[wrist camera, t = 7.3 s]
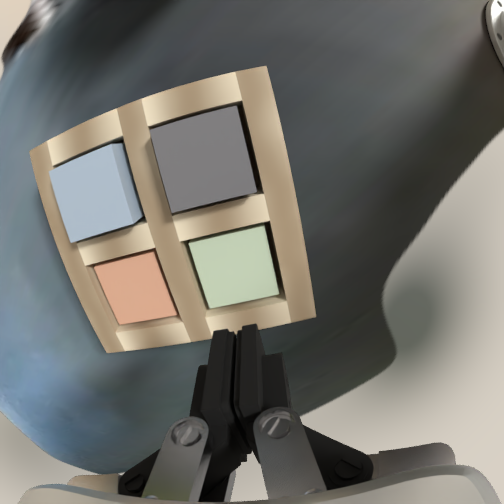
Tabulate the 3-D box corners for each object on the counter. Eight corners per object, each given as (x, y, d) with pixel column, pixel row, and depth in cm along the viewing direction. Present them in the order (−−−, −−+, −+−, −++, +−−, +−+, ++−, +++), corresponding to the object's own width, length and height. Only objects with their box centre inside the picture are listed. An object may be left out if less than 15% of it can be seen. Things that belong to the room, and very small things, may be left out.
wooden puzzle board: (261, 80, 19) (266, 65, 15) (304, 287, 25) (316, 316, 21) (61, 147, 20) (29, 151, 16) (123, 323, 26) (107, 353, 22)
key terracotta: (164, 238, 22) (153, 252, 20) (183, 295, 24) (177, 314, 21) (109, 252, 23) (93, 267, 20) (130, 305, 24) (119, 324, 22)
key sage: (261, 214, 22) (264, 225, 19) (274, 275, 24) (279, 294, 21) (195, 230, 22) (188, 243, 19) (213, 289, 24) (209, 308, 21)
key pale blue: (128, 142, 18) (110, 144, 15) (148, 212, 20) (133, 223, 17) (70, 166, 18) (48, 171, 16) (90, 229, 20) (70, 243, 17)
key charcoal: (237, 111, 18) (236, 105, 15) (254, 184, 20) (257, 192, 17) (162, 131, 18) (149, 130, 15) (181, 202, 20) (171, 213, 17)
